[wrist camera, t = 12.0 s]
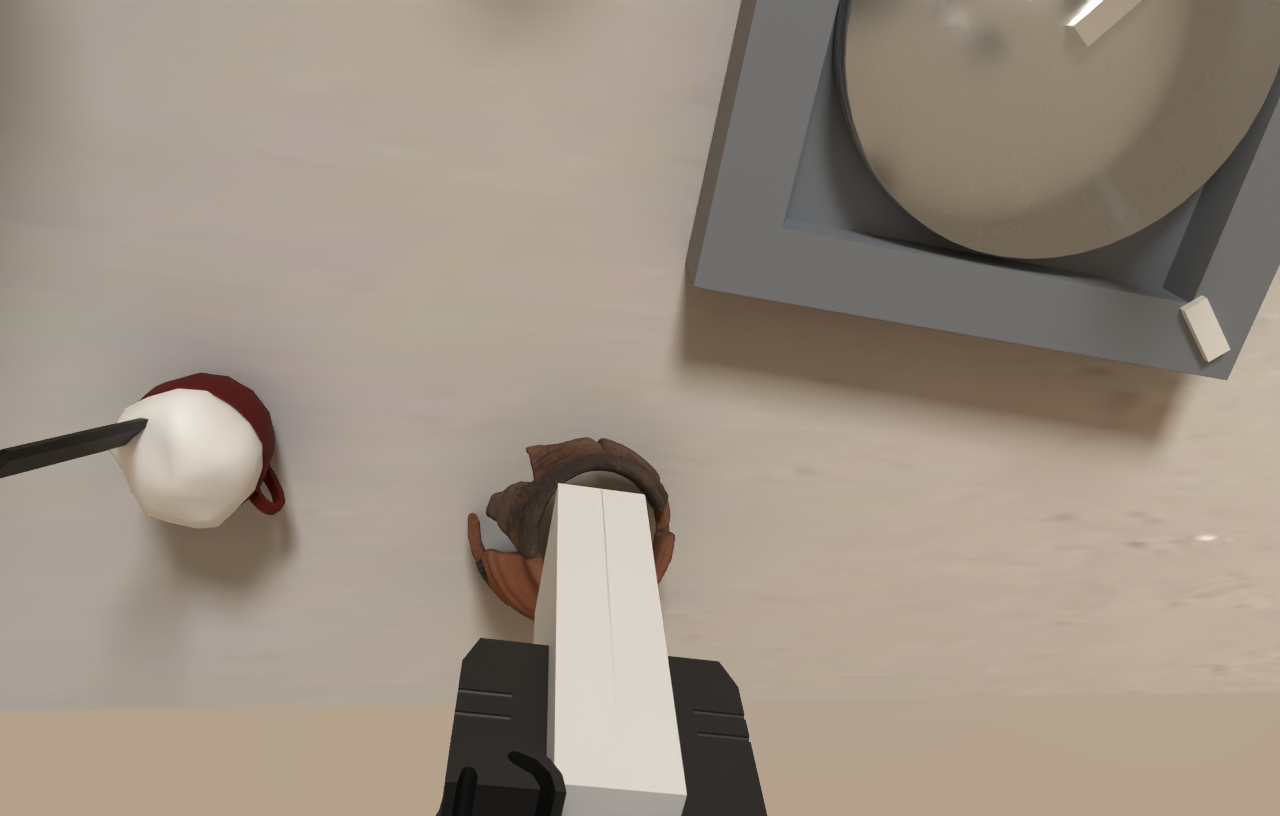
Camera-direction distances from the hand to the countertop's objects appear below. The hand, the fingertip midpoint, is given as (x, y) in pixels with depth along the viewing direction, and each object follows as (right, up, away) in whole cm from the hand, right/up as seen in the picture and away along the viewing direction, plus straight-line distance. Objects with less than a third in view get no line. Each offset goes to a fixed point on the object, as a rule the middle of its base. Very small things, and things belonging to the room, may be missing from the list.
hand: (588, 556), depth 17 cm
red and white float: (-19, +2, +29) cm, 35 cm away
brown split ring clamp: (-3, -3, +33) cm, 33 cm away
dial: (+17, +17, +22) cm, 33 cm away
